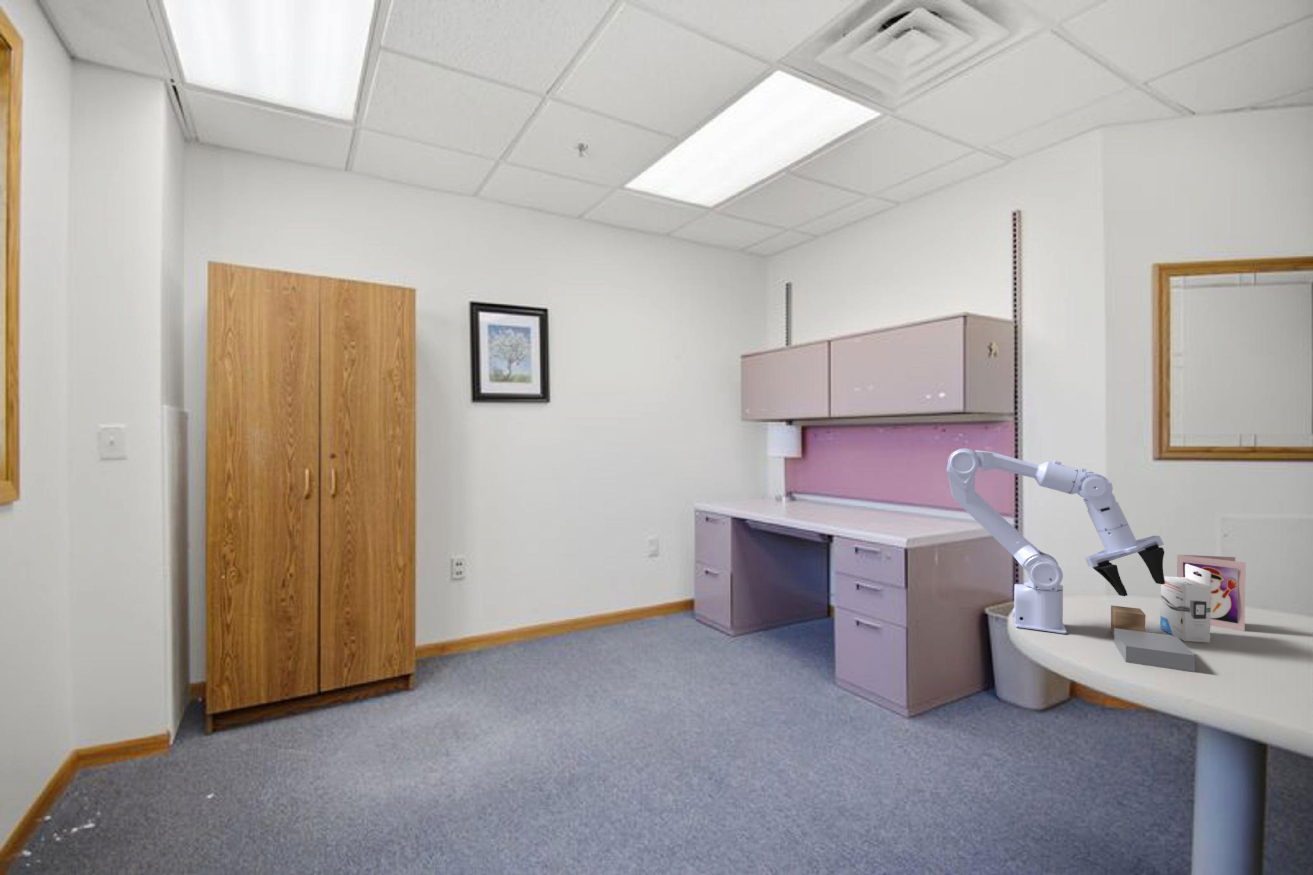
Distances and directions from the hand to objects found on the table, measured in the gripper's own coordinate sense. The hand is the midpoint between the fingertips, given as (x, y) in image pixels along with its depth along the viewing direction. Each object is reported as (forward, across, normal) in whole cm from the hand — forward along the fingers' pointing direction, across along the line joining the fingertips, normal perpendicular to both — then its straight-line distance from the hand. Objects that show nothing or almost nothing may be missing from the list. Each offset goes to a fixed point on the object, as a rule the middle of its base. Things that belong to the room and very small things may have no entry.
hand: (1141, 589), depth 127 cm
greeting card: (+16, +19, +18) cm, 30 cm away
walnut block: (+9, -6, +2) cm, 11 cm away
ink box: (+13, +6, +6) cm, 16 cm away
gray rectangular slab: (+10, -8, -9) cm, 15 cm away
